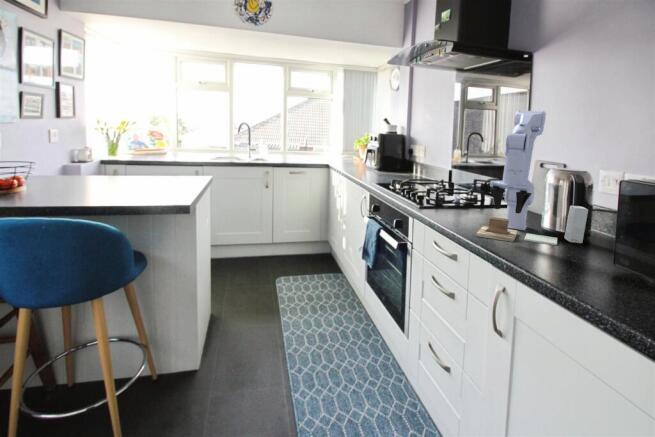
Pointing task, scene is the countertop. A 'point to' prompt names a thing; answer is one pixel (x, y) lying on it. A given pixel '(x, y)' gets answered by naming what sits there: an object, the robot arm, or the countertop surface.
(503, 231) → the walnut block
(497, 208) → the robot arm
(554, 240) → the sage tile
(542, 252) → the countertop surface
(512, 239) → the pocket plate
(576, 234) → the skincare box
